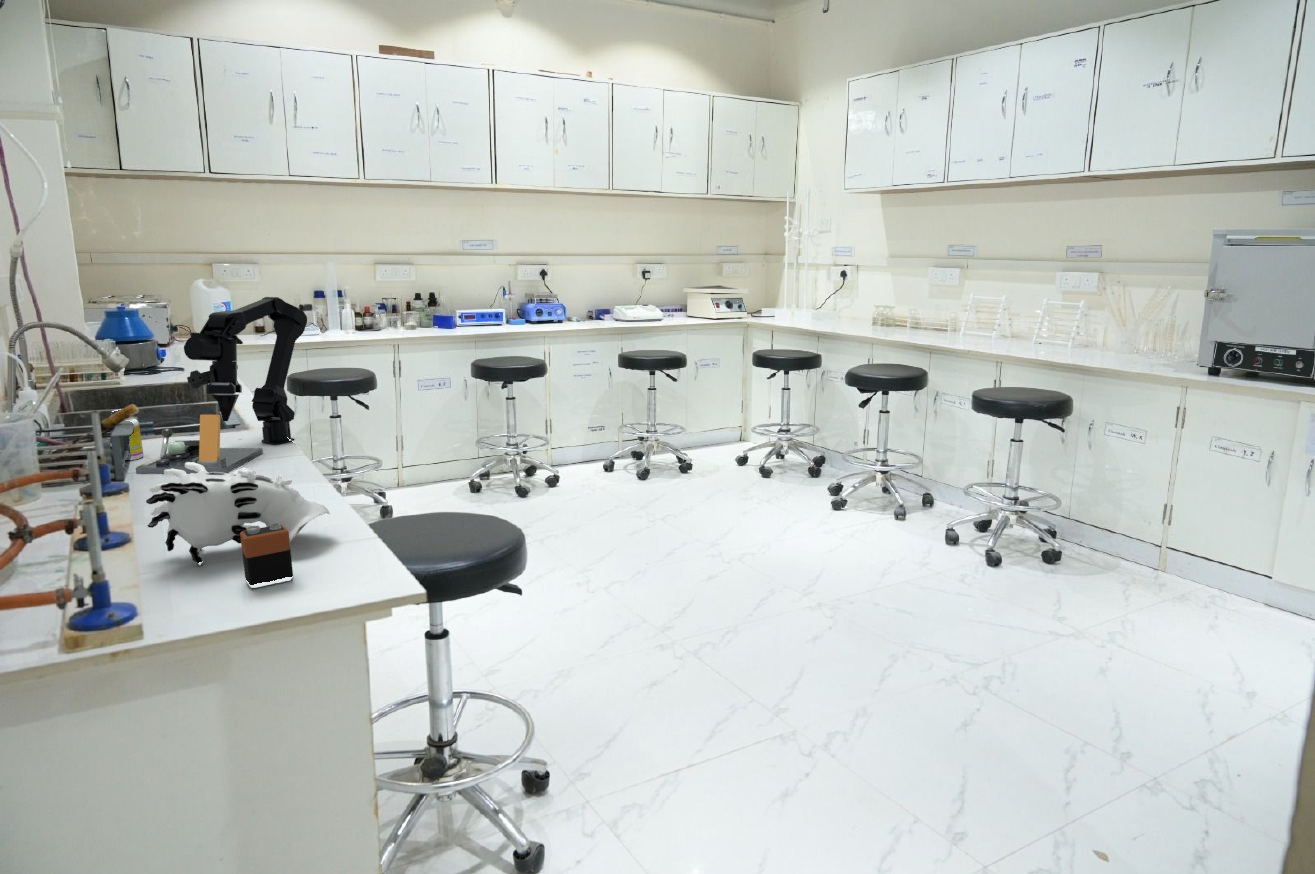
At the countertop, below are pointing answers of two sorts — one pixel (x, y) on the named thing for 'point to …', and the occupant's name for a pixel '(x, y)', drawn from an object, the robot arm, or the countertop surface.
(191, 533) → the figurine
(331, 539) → the countertop surface
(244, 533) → the battery
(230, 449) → the panel
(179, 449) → the button
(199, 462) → the paddle
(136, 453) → the yellow bottle
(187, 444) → the labelled grey box
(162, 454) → the toggle
